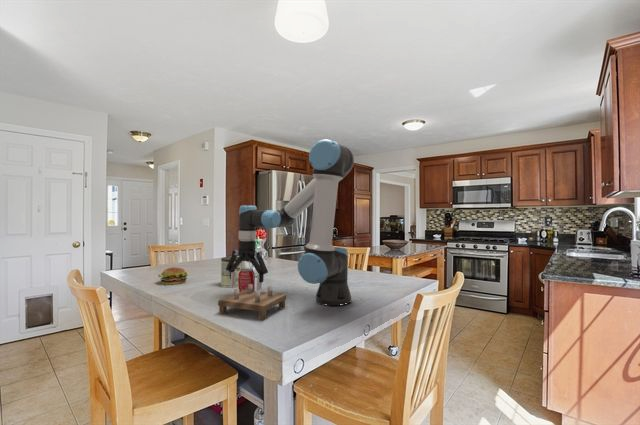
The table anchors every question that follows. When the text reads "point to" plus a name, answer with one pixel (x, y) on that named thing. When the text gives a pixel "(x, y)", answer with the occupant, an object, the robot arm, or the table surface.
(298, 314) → the table surface
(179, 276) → the food
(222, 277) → the coffee can
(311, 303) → the table surface
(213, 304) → the table surface
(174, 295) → the table surface
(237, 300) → the peg shelf
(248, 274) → the soda can
